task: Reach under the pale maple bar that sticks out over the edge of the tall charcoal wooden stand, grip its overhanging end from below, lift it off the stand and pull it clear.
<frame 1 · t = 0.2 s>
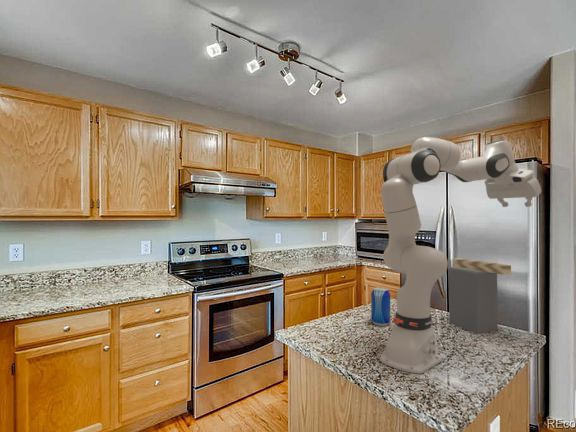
hand: (516, 206, 129), 54 cm above the counter, tool tilted 25°, fingers open, 8 cm apart
beer can: (380, 324, 141), on the counter
maple bar: (479, 269, 133), point 26 cm above the counter, touching charcoal stand
charcoal stand: (472, 326, 136), on the counter
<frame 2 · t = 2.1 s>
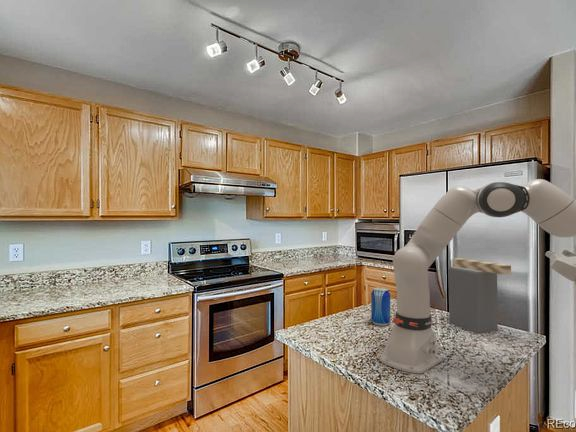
hand: (555, 252, 106), 37 cm above the counter, tool pointing upward, fingers open, 8 cm apart
nothing on the counter moved.
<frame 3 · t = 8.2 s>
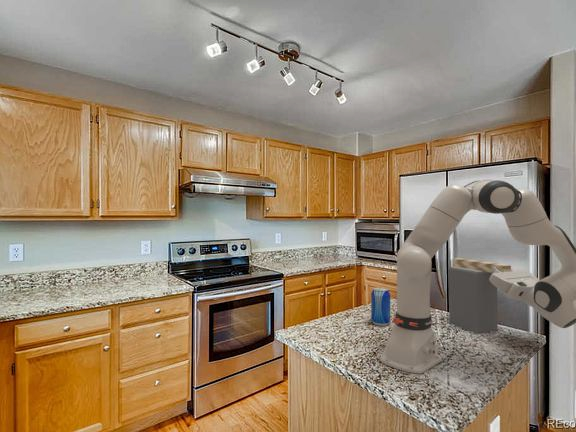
hand: (497, 267, 126), 28 cm above the counter, tool pointing upward, fingers closed on maple bar, 4 cm apart
maple bar: (479, 269, 133), point 26 cm above the counter, touching charcoal stand, gripper
everything else where it was.
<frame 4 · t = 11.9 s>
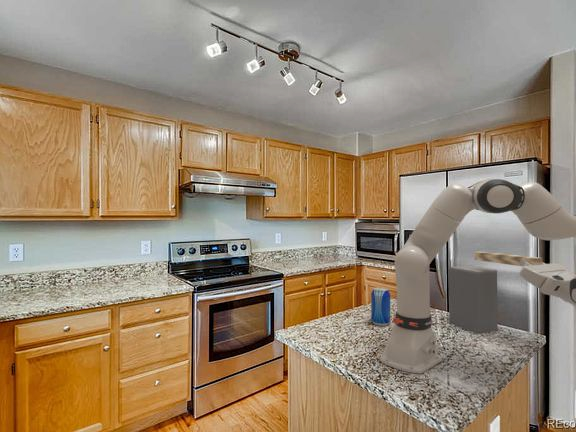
hand: (526, 260, 115), 33 cm above the counter, tool pointing upward, fingers closed on maple bar, 4 cm apart
maple bar: (505, 263, 123), point 30 cm above the counter, touching gripper
everything else where it was.
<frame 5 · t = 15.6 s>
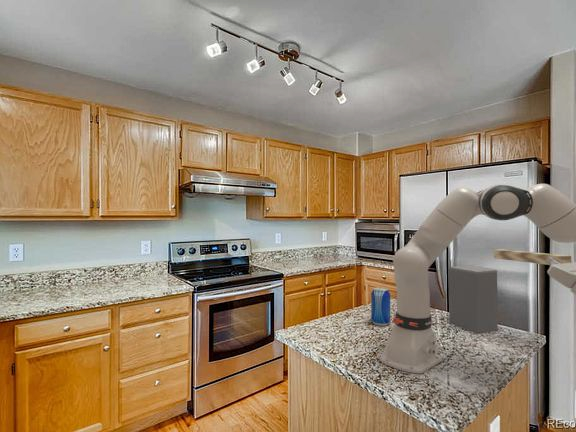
hand: (553, 258, 107), 34 cm above the counter, tool pointing upward, fingers closed on maple bar, 4 cm apart
maple bar: (529, 261, 114), point 32 cm above the counter, touching gripper
everything else where it was.
at the end: the gripper is holding maple bar; maple bar touching gripper; maple bar moved 20.9 cm from its start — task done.
